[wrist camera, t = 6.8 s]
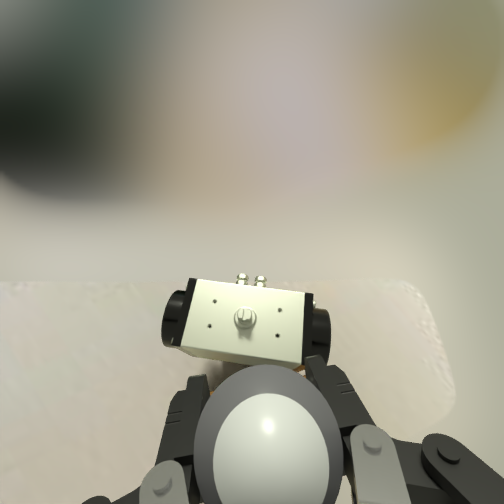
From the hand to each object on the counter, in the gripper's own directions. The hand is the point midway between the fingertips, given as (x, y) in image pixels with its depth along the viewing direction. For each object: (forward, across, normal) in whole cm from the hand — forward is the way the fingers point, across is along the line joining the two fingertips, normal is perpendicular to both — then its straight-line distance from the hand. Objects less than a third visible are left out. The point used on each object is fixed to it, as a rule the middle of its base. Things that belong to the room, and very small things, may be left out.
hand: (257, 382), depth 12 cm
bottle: (+2, 0, +5) cm, 5 cm away
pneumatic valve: (+14, 0, +8) cm, 16 cm away
